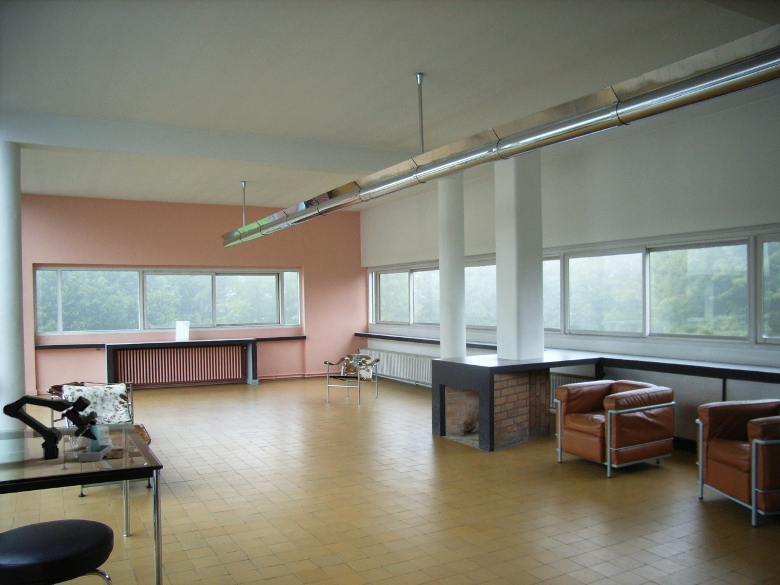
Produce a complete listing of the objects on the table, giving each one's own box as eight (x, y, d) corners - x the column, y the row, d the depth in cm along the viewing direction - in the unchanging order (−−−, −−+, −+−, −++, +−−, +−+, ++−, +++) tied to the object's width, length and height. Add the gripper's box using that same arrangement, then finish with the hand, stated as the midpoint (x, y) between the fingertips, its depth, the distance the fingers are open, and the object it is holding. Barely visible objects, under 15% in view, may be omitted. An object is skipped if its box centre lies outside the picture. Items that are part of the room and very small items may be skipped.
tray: (78, 461, 320) (78, 453, 320) (90, 452, 337) (90, 445, 337) (100, 460, 321) (100, 453, 321) (111, 452, 338) (111, 444, 338)
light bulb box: (102, 444, 356) (102, 425, 356) (109, 445, 352) (109, 426, 352) (84, 448, 347) (84, 428, 347) (91, 449, 344) (91, 430, 344)
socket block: (106, 458, 326) (106, 452, 326) (111, 454, 334) (111, 448, 334) (122, 457, 327) (122, 452, 327) (127, 453, 335) (127, 448, 335)
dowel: (92, 452, 326) (92, 427, 326) (89, 451, 329) (89, 426, 329) (101, 451, 329) (101, 426, 329) (98, 449, 332) (98, 425, 332)
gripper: (80, 410, 319) (103, 431, 321) (93, 404, 338) (114, 423, 339) (64, 426, 318) (87, 447, 320) (78, 418, 337) (99, 438, 338)
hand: (98, 438), depth 329 cm, fingers closed on dowel, 4 cm apart
